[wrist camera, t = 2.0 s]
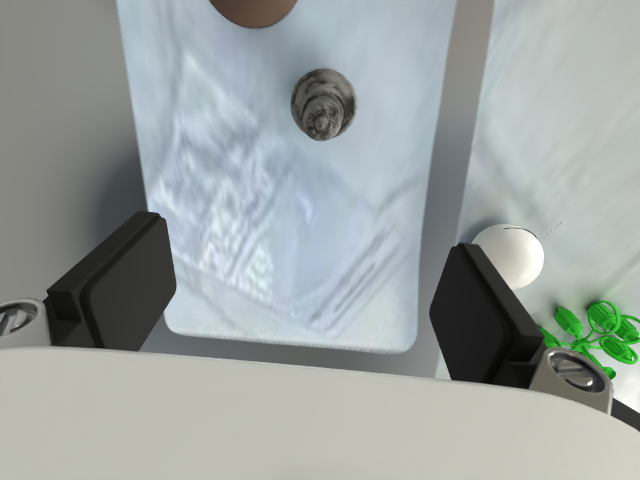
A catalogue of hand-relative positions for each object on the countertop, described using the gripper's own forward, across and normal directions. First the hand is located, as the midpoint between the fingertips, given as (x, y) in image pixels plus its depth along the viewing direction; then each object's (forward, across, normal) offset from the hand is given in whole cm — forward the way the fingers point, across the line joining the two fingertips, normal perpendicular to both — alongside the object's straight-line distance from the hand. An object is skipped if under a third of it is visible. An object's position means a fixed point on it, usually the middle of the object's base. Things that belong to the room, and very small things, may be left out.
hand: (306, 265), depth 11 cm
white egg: (+26, -22, +11) cm, 36 cm away
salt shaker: (+26, 0, -2) cm, 26 cm away
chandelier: (+26, -38, +26) cm, 53 cm away
